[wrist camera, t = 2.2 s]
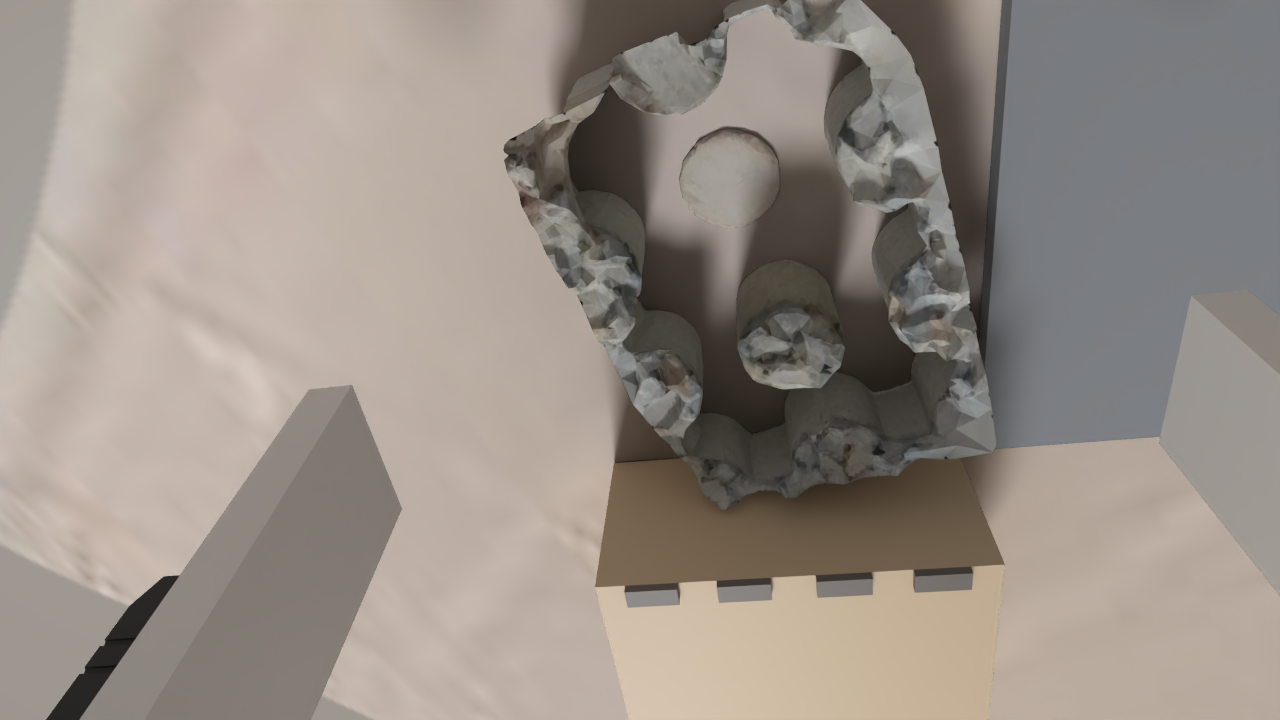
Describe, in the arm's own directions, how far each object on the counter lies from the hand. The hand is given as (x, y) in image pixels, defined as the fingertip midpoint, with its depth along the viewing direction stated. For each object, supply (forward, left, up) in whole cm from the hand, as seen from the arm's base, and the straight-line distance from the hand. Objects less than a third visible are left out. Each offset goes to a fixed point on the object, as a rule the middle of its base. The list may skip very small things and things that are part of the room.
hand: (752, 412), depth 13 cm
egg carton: (-1, 0, -7) cm, 7 cm away
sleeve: (0, +9, -7) cm, 11 cm away
